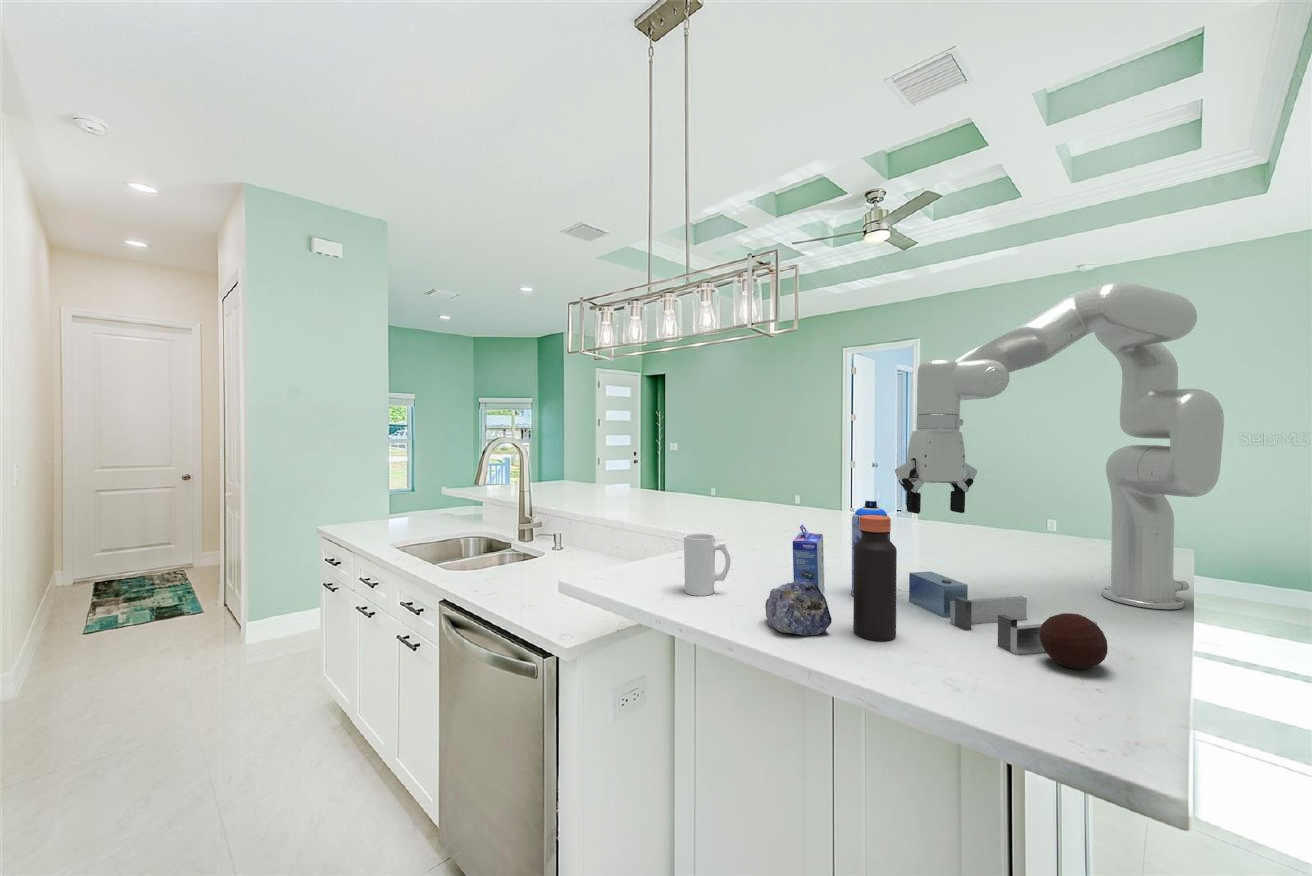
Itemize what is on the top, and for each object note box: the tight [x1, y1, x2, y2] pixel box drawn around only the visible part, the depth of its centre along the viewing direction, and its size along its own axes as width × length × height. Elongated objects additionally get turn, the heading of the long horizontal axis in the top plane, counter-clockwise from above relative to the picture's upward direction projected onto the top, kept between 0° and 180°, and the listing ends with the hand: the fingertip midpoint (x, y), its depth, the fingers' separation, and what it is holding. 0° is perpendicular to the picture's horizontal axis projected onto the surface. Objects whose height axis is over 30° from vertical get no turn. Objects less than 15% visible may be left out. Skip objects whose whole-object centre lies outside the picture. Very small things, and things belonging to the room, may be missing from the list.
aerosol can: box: [850, 500, 891, 598], centre depth 116 cm, size 8×8×20 cm
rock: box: [764, 581, 833, 637], centre depth 98 cm, size 11×10×10 cm
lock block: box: [908, 570, 969, 619], centre depth 108 cm, size 5×10×6 cm, turn 11°
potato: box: [1039, 612, 1109, 670], centre depth 81 cm, size 8×9×8 cm
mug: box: [683, 533, 732, 597], centre depth 119 cm, size 10×7×12 cm, turn 72°
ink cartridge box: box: [792, 523, 825, 594], centre depth 118 cm, size 10×6×14 cm, turn 157°
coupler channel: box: [949, 595, 1098, 656], centre depth 94 cm, size 15×14×5 cm
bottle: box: [852, 515, 898, 642], centre depth 94 cm, size 7×7×20 cm
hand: (935, 512), depth 108 cm, fingers open, 9 cm apart
